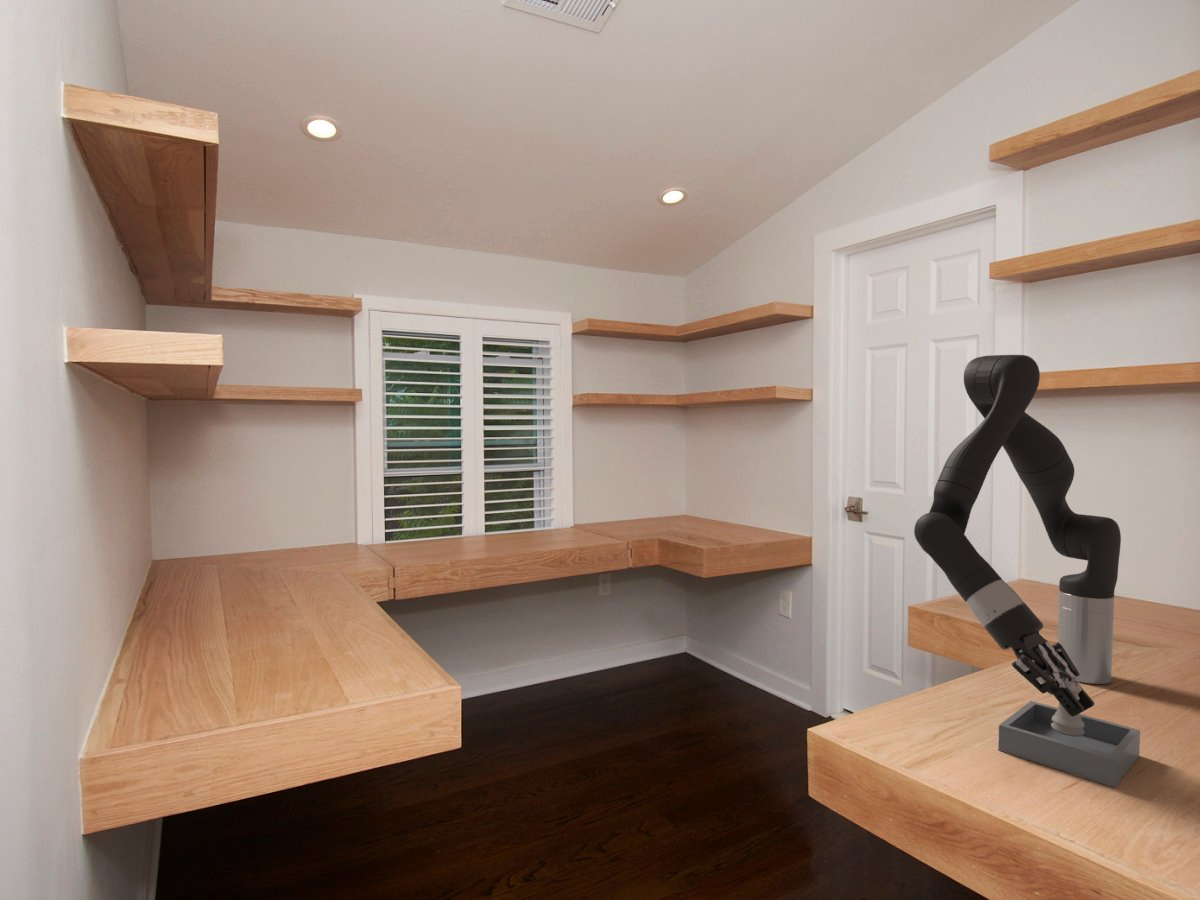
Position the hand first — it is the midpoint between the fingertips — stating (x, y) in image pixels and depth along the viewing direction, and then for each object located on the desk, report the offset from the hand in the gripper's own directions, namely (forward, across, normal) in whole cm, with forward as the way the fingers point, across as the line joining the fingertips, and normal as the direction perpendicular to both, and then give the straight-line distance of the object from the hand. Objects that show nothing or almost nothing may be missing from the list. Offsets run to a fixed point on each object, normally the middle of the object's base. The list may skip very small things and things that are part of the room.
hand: (1083, 710), depth 106 cm
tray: (+4, 0, +6) cm, 8 cm away
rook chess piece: (+2, 0, +4) cm, 5 cm away
